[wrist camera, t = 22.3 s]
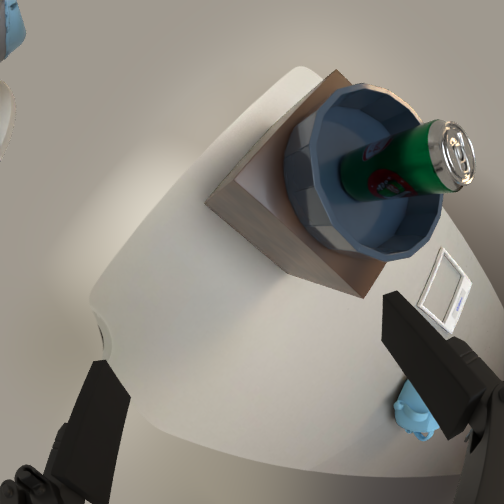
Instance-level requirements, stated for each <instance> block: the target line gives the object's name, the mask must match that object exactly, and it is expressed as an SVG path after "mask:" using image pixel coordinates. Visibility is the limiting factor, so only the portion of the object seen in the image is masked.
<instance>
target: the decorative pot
mask: <svg viewBox="0 0 504 504" xmlns="http://www.w3.org/2000/svg"><path fill="white" fill-rule="evenodd" d="M394 409H395V418H396V422H397V424H398V425H399V426H401V427H402V428H404V429H405V431H406V432H407V433H412V432H413V433H414V434H415V436H416V437H417V438H418V439H419V440H420V441H426V440H428V439H430V438H431V437H432V435H433V433H434V430H436V429H438V428H440V427H439V425H438V424H437V422H436V420H435V419H434V417H433V416H432V414H431V413H430V411H429V410H428V408H427V406H426V405H425V403H424V402H423V400H422V399H421V397H420V396H419V394H418V393H417V391H416V390H415V388H414V387H413V385H412V384H411V382H410V381H409V379H408V380H406V382H405V383H404V387H403V389H402V391H401V393H400V395H399V397H398V400H397V401H396V402H395V403H394ZM421 432H429V433H428V435H427V437H424V436H423V435H422V434H421Z"/></svg>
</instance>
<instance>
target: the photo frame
mask: <svg viewBox="0 0 504 504" xmlns="http://www.w3.org/2000/svg"><path fill="white" fill-rule="evenodd" d="M443 254H444V255H445V256H446V257H447V259H448V260H449V261H450V262H451V263H452V265H453V266H454V267H455V268H456V269H457V271H458V272H459V273H460V274H461V279H460V281H459V284H458V287H457V289H456V292H455V294H454V297H453V299H452V302H451V304H450V307H449V309H448V311H447V314H446V316H445V318H444V321H443V322H441V321H440V320H439V319H438V318H437V317H436V316H435V315H434V314H432V313H431V312H430V311H429V310H428V309H427V308H426V307H424V306H423V303H424V301H425V298H426V296H427V294H428V292H429V289H430V287H431V285H432V282H433V280H434V277H435V275H436V272H437V270H438V267H439V265H440V262H441V259H442V257H443ZM471 285H472V282H471V281H470V280H469V278H468V277H467V276H466V274H465V273H464V272H463V271H462V269H461V268H460V267H459V266H458V264H457V263H456V262H455V261H454V259H453V258H452V257H451V256H450V254H449V253H448V252H447V251H446V250H445V249H444V248H441V249H440V251H439V254H438V257H437V259H436V262H435V265H434V267H433V270H432V272H431V275H430V277H429V279H428V282H427V284H426V286H425V289H424V291H423V293H422V296H421V298H420V300H419V302H418V304H417V306H418V307H419V308H421V309H422V310H423V311H424V312H425V313H426V314H428V315H429V316H430V317H431V318H432V319H434V320H435V321H436V322H437V323H438V324H439V325H440V326H442V327H443V328H444V329H445V330H446V331H447V332H448V333H450V334H452V332H453V330H454V328H455V326H456V323H457V321H458V319H459V316H460V314H461V311H462V309H463V306H464V304H465V301H466V299H467V296H468V293H469V291H470V288H471Z"/></svg>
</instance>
